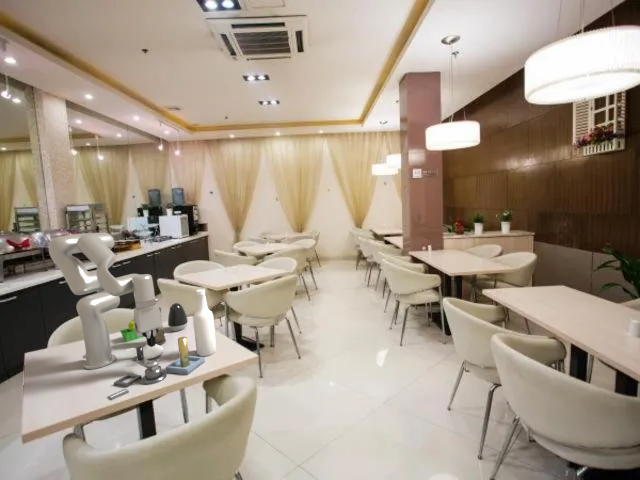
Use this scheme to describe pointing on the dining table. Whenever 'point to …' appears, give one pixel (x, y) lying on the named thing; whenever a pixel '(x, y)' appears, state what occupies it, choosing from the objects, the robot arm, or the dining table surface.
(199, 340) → the alcohol
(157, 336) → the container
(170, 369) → the tray
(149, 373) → the crank housing
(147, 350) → the flower in vase
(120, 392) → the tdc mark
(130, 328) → the fruit basket
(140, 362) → the crank
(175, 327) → the black egg shape
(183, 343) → the peg
